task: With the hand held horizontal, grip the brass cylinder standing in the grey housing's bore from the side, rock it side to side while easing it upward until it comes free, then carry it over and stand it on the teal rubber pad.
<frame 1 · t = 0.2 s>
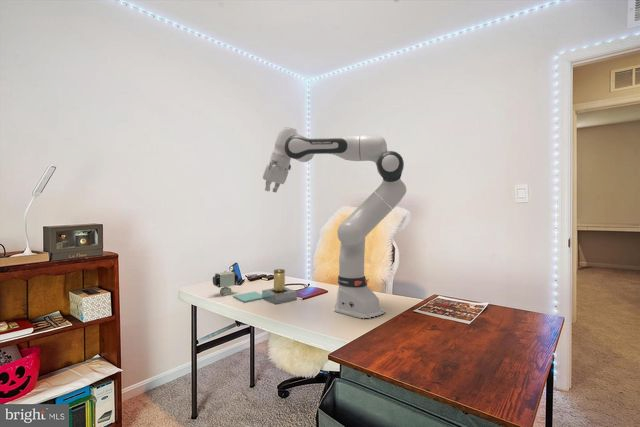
hand: (270, 191, 153), 51 cm above the table, tool tilted 20°, fingers open, 8 cm apart
brass cylinder: (279, 284, 160), in the housing
pad: (249, 297, 163), on the table
housing: (279, 299, 160), on the table
pneumatic valve: (225, 294, 169), on the table
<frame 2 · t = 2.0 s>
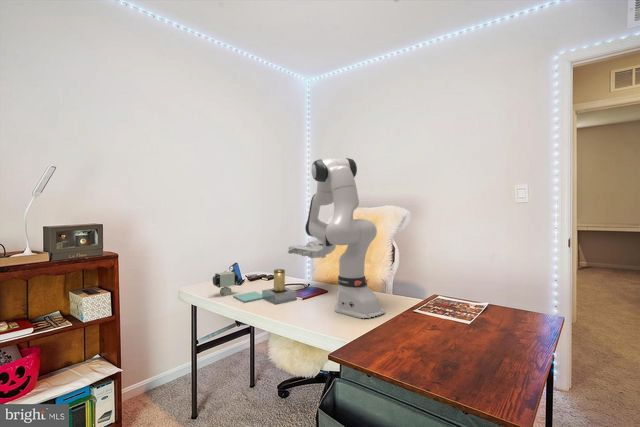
hand: (295, 253, 168), 21 cm above the table, tool horizontal, fingers open, 8 cm apart
nothing on the table moved.
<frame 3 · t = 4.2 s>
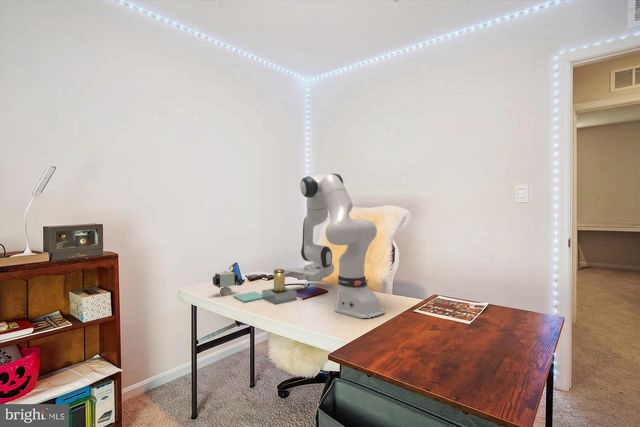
hand: (291, 276, 166), 9 cm above the table, tool horizontal, fingers open, 8 cm apart
nothing on the table moved.
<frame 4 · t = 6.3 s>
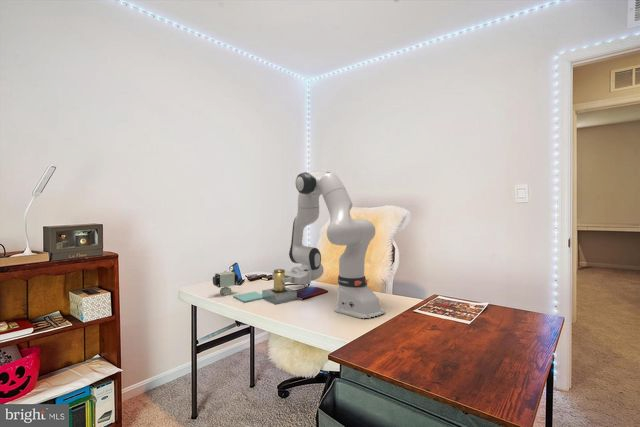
hand: (277, 279, 160), 10 cm above the table, tool horizontal, fingers closed on brass cylinder, 5 cm apart
brass cylinder: (279, 284, 160), in the housing, touching gripper
everything else where it was.
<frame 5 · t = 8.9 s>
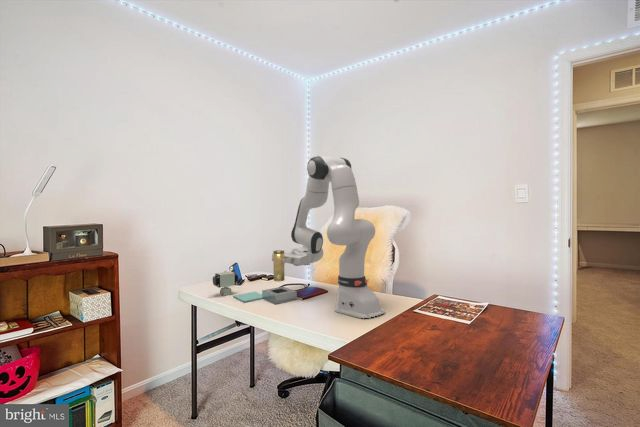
hand: (277, 260, 159), 19 cm above the table, tool horizontal, fingers closed on brass cylinder, 5 cm apart
brass cylinder: (278, 265, 160), point 16 cm above the table, touching gripper
everything else where it was.
when the fingers open (11 cm above the table, at t = 11.7 s): brass cylinder stays where it is, resting on pad.
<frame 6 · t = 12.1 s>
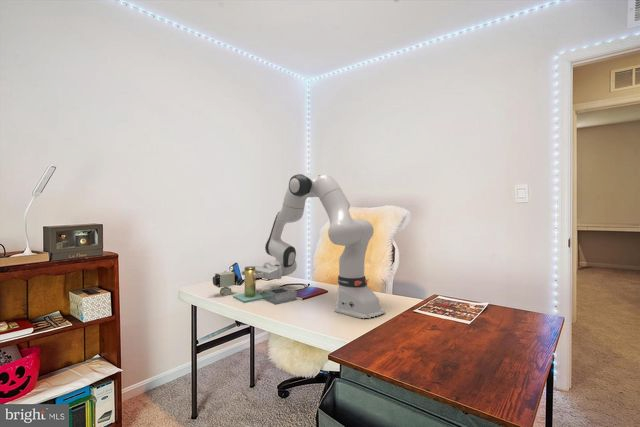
hand: (248, 274, 162), 11 cm above the table, tool horizontal, fingers open, 8 cm apart
brass cylinder: (250, 281, 163), on the pad, point 8 cm above the table
everything else where it was.
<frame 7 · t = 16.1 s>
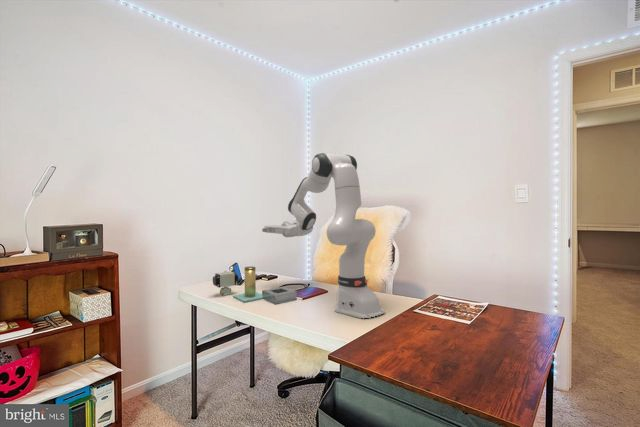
hand: (268, 230, 171), 32 cm above the table, tool horizontal, fingers open, 8 cm apart
nothing on the table moved.
at the end: brass cylinder inside the target area on the pad (0.1 cm from its centre), point 7.8 cm above the pad's base; brass cylinder tilted 0°; brass cylinder touching pad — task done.
